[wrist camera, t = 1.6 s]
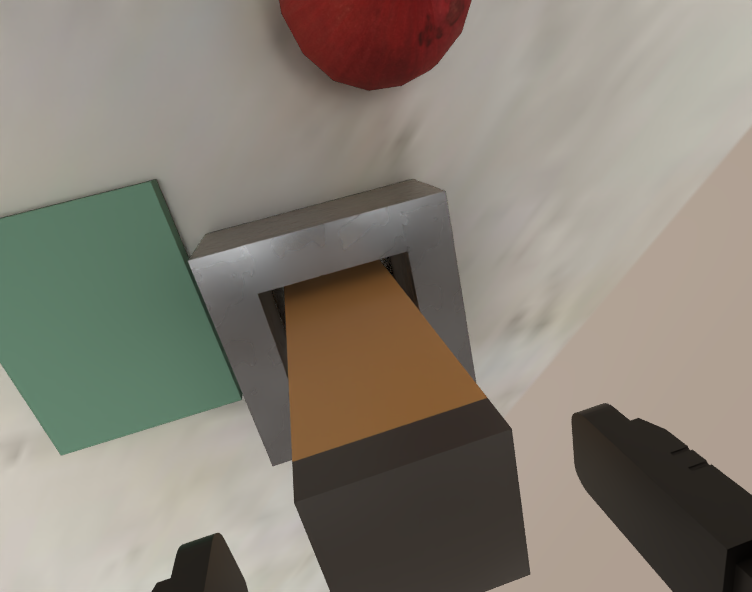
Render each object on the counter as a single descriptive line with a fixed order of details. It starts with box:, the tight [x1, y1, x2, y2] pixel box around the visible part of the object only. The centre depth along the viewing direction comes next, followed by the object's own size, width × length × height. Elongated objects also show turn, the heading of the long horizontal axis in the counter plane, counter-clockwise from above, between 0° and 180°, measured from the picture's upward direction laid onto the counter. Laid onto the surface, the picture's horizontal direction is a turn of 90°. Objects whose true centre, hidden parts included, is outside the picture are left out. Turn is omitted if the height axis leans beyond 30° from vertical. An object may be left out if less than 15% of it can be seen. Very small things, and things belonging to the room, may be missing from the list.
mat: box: [0, 179, 243, 455], centre depth 18 cm, size 10×8×1 cm
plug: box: [284, 260, 530, 592], centre depth 14 cm, size 4×4×13 cm
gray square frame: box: [188, 179, 476, 466], centre depth 19 cm, size 9×9×4 cm
